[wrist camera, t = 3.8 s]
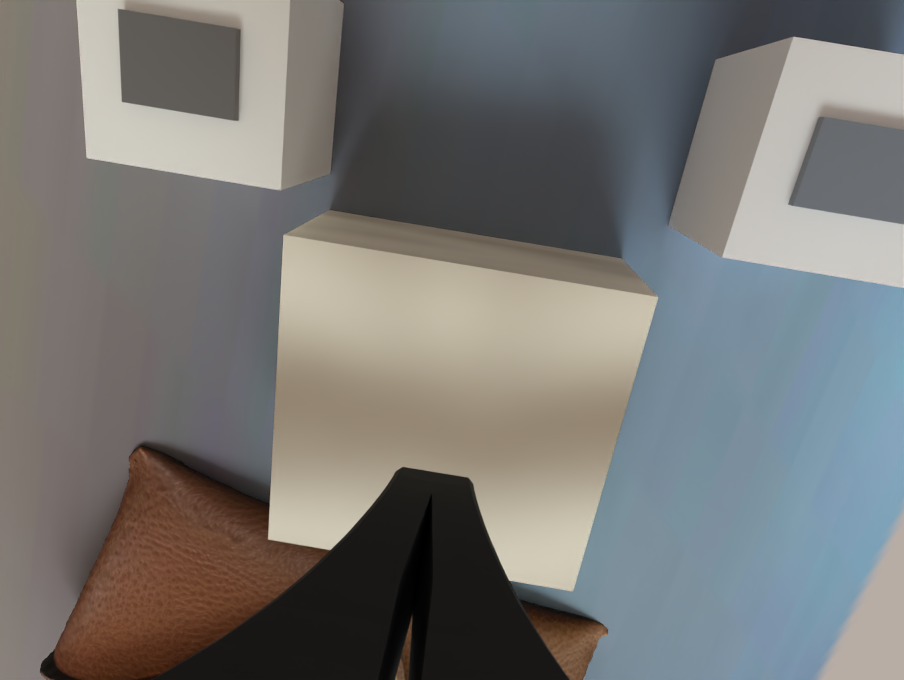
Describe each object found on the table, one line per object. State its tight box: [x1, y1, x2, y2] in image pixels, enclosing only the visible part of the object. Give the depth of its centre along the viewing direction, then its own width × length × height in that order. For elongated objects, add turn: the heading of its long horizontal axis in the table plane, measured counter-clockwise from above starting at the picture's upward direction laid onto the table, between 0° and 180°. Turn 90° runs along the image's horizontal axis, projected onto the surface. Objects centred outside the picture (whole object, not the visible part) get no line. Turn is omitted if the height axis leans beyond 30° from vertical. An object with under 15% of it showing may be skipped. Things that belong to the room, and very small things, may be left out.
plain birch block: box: [268, 210, 658, 591], centre depth 16 cm, size 8×8×4 cm
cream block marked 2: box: [76, 0, 344, 190], centre depth 13 cm, size 4×4×4 cm
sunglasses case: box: [40, 446, 608, 680], centre depth 20 cm, size 18×7×7 cm
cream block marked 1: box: [668, 37, 904, 288], centre depth 13 cm, size 4×4×4 cm
